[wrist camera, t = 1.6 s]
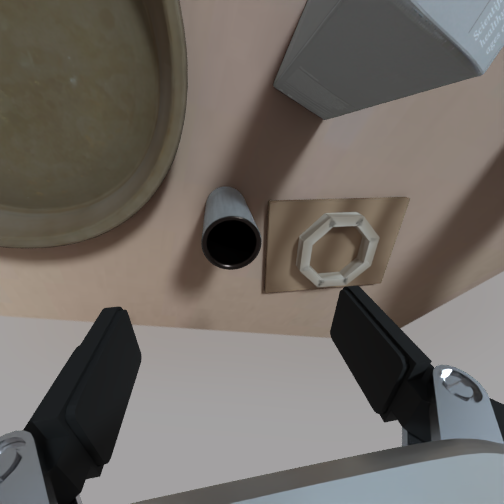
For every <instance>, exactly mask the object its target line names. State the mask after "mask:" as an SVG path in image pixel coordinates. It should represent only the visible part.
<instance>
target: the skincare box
mask: <svg viewBox="0 0 504 504" xmlns="http://www.w3.org/2000/svg"><path fill="white" fill-rule="evenodd" d="M503 46H504V0H308V1H307V4H306V6H305V8H304V11H303V13H302V15H301V18H300V20H299V23H298V25H297V28H296V30H295V32H294V35H293V37H292V40H291V42H290V45H289V47H288V49H287V52H286V54H285V57H284V59H283V62H282V64H281V66H280V69H279V71H278V74H277V76H276V79H275V81H274V84H273V86H274V87H275V88H276V89H278V90H279V91H281V92H282V93H284V94H285V95H287V96H289V97H290V98H292V99H293V100H295V101H296V102H298V103H299V104H301V105H302V106H304V107H305V108H307V109H308V110H310V111H311V112H313V113H315V114H316V115H318V116H319V117H321V118H322V119H324V120H326V119H330V118H334V117H337V116H341V115H344V114H348V113H351V112H355V111H358V110H361V109H365V108H368V107H372V106H375V105H378V104H382V103H386V102H389V101H392V100H396V99H400V98H403V97H407V96H410V95H414V94H417V93H421V92H424V91H428V90H431V89H434V88H438V87H441V86H445V85H448V84H452V83H455V82H459V81H462V80H466V79H469V78H473V77H477V76H481V75H483V74H484V73H485V71H486V70H487V69H488V67H489V66H490V64H491V63H492V61H493V60H494V59H495V57H496V56H497V54H498V53H499V51H500V50H501V49H502V47H503Z"/></svg>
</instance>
